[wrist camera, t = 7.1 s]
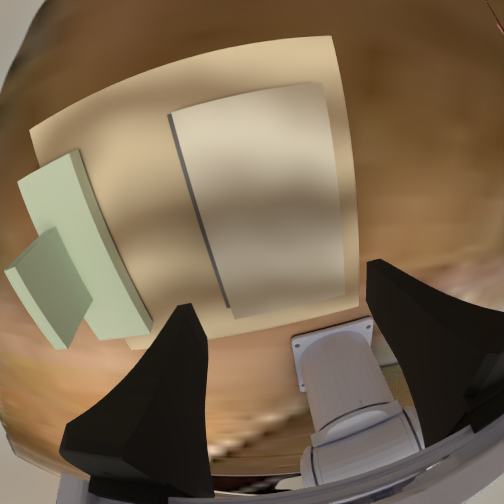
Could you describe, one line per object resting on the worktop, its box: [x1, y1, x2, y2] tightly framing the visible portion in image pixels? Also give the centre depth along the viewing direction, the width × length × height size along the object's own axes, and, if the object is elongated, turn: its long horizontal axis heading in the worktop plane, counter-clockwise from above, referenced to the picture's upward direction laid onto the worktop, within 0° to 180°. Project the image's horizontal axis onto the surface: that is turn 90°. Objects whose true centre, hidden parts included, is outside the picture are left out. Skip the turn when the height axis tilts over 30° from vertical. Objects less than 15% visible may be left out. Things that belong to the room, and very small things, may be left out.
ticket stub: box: [4, 150, 153, 350], centre depth 15 cm, size 14×5×6 cm, turn 12°
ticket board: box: [29, 36, 359, 350], centre depth 18 cm, size 20×20×3 cm
